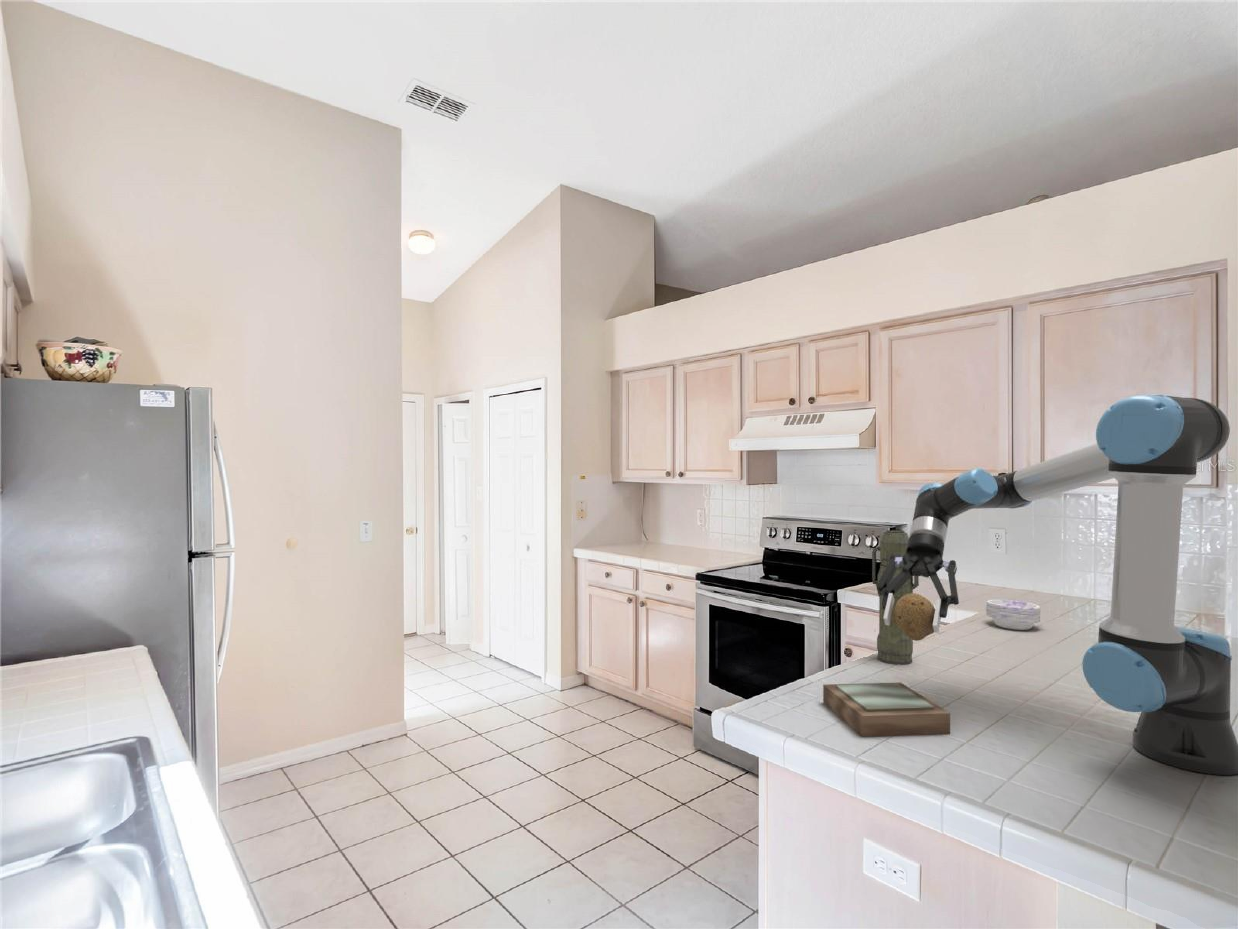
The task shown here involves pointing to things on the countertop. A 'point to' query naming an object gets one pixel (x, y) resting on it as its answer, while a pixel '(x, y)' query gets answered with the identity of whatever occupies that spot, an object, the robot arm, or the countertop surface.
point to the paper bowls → (1013, 614)
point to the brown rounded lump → (914, 616)
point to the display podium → (885, 709)
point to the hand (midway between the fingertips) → (910, 625)
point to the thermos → (890, 637)
